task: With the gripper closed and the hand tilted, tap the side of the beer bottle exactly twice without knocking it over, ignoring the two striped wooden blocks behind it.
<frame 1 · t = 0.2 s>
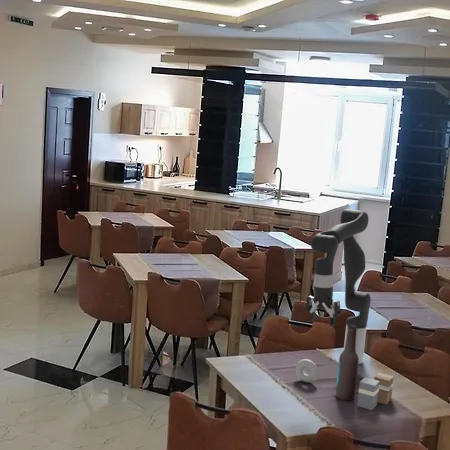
hand: (322, 323, 273), 29 cm above the table, tool pointing down, fingers open, 8 cm apart
walnut block: (381, 400, 274), on the table
slate block: (367, 405, 268), on the table
beer bottle: (344, 397, 275), on the table
donut: (305, 382, 287), on the table
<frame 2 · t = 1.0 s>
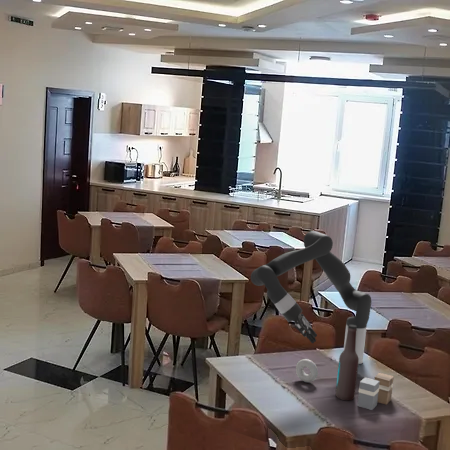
hand: (314, 339, 273), 22 cm above the table, tool tilted 45°, fingers open, 6 cm apart
nothing on the table moved.
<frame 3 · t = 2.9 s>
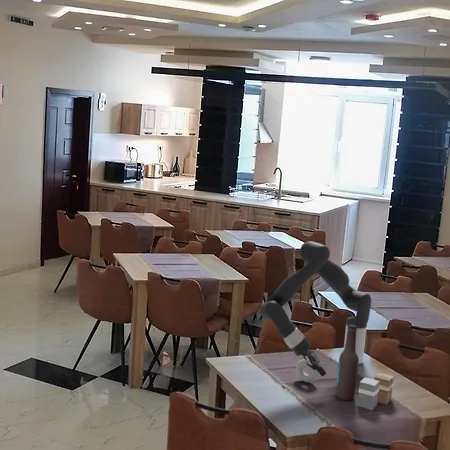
hand: (324, 374, 275), 8 cm above the table, tool tilted 45°, fingers closed
nothing on the table moved.
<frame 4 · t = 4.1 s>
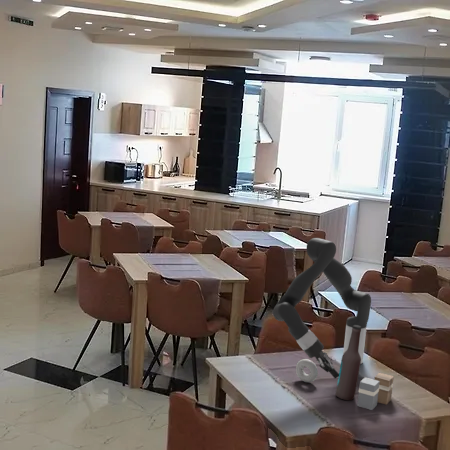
hand: (337, 376, 274), 8 cm above the table, tool tilted 45°, fingers closed
beer bottle: (344, 396, 275), on the table, touching gripper
everything else where it was.
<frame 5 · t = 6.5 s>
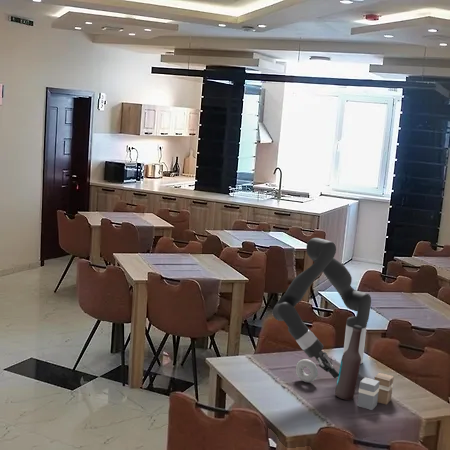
hand: (336, 376, 274), 8 cm above the table, tool tilted 45°, fingers closed
nothing on the table moved.
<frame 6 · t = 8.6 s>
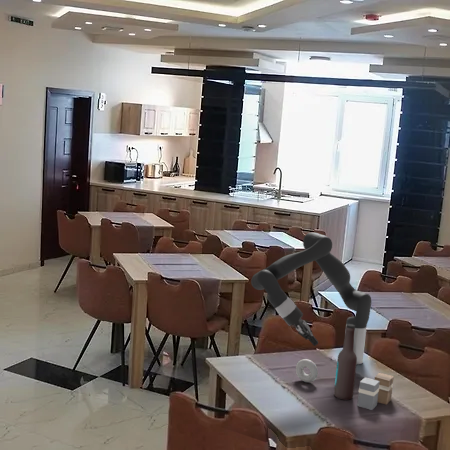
hand: (316, 344, 273), 21 cm above the table, tool tilted 45°, fingers closed
beer bottle: (343, 396, 275), on the table
everything else where it was.
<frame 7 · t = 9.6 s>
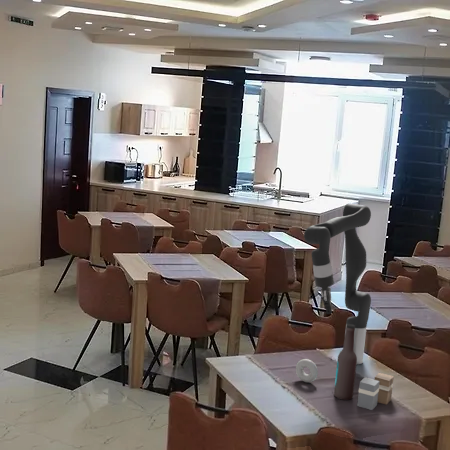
hand: (329, 313, 283), 31 cm above the table, tool pointing down, fingers closed
nothing on the table moved.
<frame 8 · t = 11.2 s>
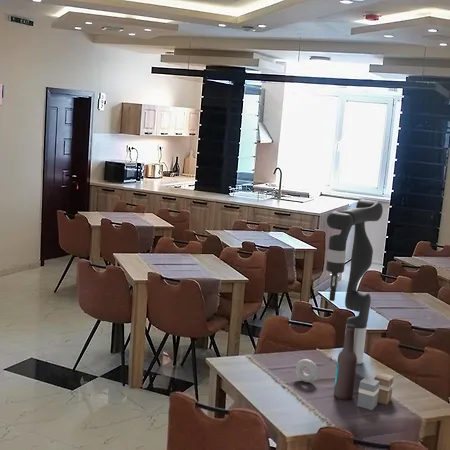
hand: (331, 300, 286), 35 cm above the table, tool pointing down, fingers closed
nothing on the table moved.
at the end: beer bottle moved 0.8 cm from its start; beer bottle tilted 0°; slate block moved 0.1 cm from its start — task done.
